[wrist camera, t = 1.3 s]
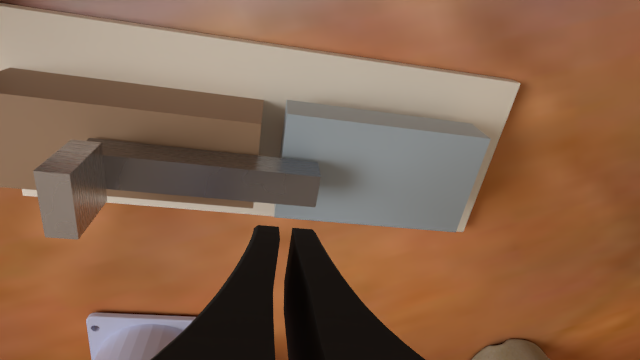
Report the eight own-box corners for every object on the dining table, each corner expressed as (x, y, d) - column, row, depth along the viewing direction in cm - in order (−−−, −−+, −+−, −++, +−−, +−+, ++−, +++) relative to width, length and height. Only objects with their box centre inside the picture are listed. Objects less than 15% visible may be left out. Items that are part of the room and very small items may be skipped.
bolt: (311, 200, 18) (319, 255, 14) (94, 180, 16) (45, 236, 13) (319, 151, 17) (330, 198, 13) (87, 125, 15) (33, 170, 12)
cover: (441, 210, 22) (455, 232, 20) (274, 195, 20) (274, 217, 18) (471, 123, 19) (490, 138, 18) (286, 99, 18) (287, 113, 16)
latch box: (457, 224, 25) (489, 269, 21) (31, 187, 21) (-22, 234, 17) (512, 79, 21) (563, 103, 17) (-4, 2, 17) (-83, 11, 13)
